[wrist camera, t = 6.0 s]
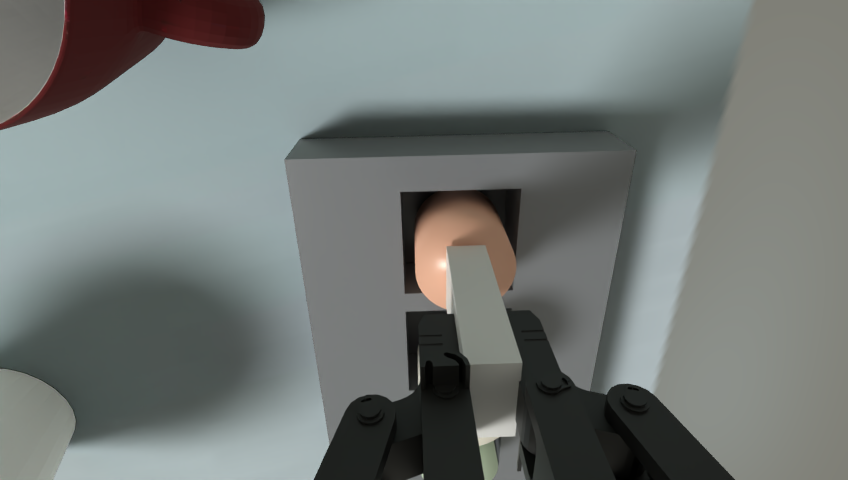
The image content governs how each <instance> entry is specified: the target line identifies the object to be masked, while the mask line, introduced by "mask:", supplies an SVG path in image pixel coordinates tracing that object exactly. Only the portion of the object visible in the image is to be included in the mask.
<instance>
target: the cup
mask: <svg viewBox="0 0 848 480" xmlns="http://www.w3.org/2000/svg"><path fill="white" fill-rule="evenodd" d="M75 424H76V419H75V416H74V412H73V409H72V408H71V406H70V405H69V403H68V402H67V400H66V399H65V398H64V397H63V396H62V395H61V394H60V393H59V392H58V391H56V390H55V389H54V388H53V387H51V386H49V385H48V384H46V383H45V382H43V381H41V380H39V379H37V378H35V377H32V376H30V375H27V374H25V373H21V372H17V371H13V370H9V369H0V480H53V479H54V477H55V474H56V472H57V470H58V467H59V465H60V463H61V461H62V458H63V456H64V454H65V451H66V449H67V447H68V444H69V442H70V440H71V438H72V435H73V433H74V431H75Z"/></svg>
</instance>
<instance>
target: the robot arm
mask: <svg viewBox="0 0 848 480" xmlns="http://www.w3.org/2000/svg"><path fill="white" fill-rule="evenodd" d="M446 308H447V314H430V315H424V316H423V318H422V319H421V321H420V323H419V324H418V328H419V362H420V383H419V385H418V387H417V389H416V390H415V391H414V392H413V393H412V394H410V395H409V396H407V397H405V398H403V399H400V400H397V401H394V402H392V401H390V400H389V399H388V398H387V397H384V396H381V395H378V394H374V395H365V396H362V397H359V398H357V399H356V400H354V401H353V402H351V403H350V405H349V406H348V407H347V409H346V410H345V412H344V415H343V417H342V419H341V421H340V423H339V426H338V428H337V430H336V432H335V434H334V437H333V439H332V441H331V443H330V445H329V448H328V450H327V452H326V454H325V456H324V458H323V461H322V463H321V465H320V467H319V469H318V472H317V474H316V476H315V478H314V480H408V479H410V478H413V477H416V476H418V475H421V474H423V480H485V479H484V473H483V467H482V461H481V455H480V448H479V442H478V438H484V437H510V436H515V433H516V424H517V428H518V432H519V436H520V441H519V451H518V460H517V471H521V468H522V467H523V471H524V475H525V479H526V480H735V479H734V478H733V477H732V476H731V475H730V474H729V473H728V472H727V471H726V470H725V469H724V468H723V467H722V466H721V465H720V464H719V462H718V461H717V460H716V459H715V458H714V457H712V455H711V454H710V453H709V452H708V451H707V450H706V449H705V448H704V447H703V446H702V445H701V444H700V443H699V441H697V439H696V438H695V437H694V436H693V435H692V434H691V433H690V432H689V431H688V430H687V429H686V428H685V427H684V426H683V425H682V424H681V423H680V422H679V421H678V420H677V418H676V417H675V416H674V415H673V414H672V413H671V412H670V411H669V410H668V409H667V408H666V407H665V406H664V405H663V404H662V403H661V402H660V401H659V400H658V398H657V397H655V396H654V395H653V394H652V393H650V392H649V391H648V390H646V389H644V388H641V387H639V386H636V385H631V384H618V385H616V386H614V387H612V388H611V389H610V390H609V392H608V393H607V395H605V394H600V393H595V392H591V391H587V390H584V389H581V388H579V387H577V386H575V384H574V383H573V381H572V380H571V378H570V377H568V376H567V375H566V374H564V373H563V372H561V370H560V368H559V365H558V363H557V360H556V358H555V356H554V353H553V351H552V348H551V346H550V343H549V341H548V340H547V336H546V334H545V332H544V329H543V326H542V324H541V322H540V319H539V318H538V317H536V316H535V315H534V314H533V313H532V312H531V311H530V310H519V311H506V309H505V306H504V302H503V299H502V296H501V293H500V290H499V287H498V283H497V280H496V277H495V274H494V271H493V268H492V265H491V261H490V258H489V255H488V252H487V249H486V246H485V245H470V246H446Z"/></svg>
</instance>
